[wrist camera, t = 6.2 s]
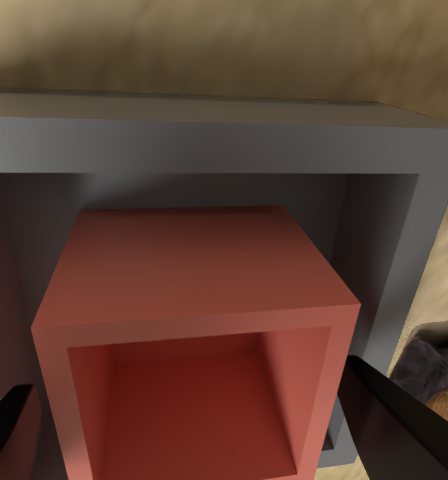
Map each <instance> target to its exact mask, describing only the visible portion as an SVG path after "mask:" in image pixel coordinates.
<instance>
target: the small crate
mask: <svg viewBox="0 0 448 480" xmlns="http://www.w3.org/2000/svg"><path fill="white" fill-rule="evenodd" d="M360 306H361V303H360V302H359V301H358V299H357V298H356V297H355V296H354V294H353V293H352V292H351V291H350V289H349V288H348V287H347V285H346V284H345V283H344V282H343V280H342V279H341V278H340V277H339V275H338V274H337V273H336V272H335V270H334V269H333V268H332V267H331V265H330V264H329V263H328V261H327V260H326V259H325V258H324V256H323V255H322V254H321V253H320V251H319V250H318V249H317V248H316V246H315V245H314V244H313V243H312V241H311V240H310V239H309V237H308V236H307V235H306V234H305V232H304V231H303V230H302V229H301V227H300V226H299V225H298V224H297V222H296V221H295V220H294V219H293V217H292V216H291V215H290V213H289V212H288V211H287V210H286V208H285V207H284V206H283V205H260V206H216V207H172V208H128V209H85V210H80V211H79V213H78V216H77V218H76V221H75V223H74V225H73V228H72V230H71V233H70V235H69V237H68V240H67V242H66V245H65V247H64V249H63V252H62V254H61V256H60V259H59V261H58V264H57V266H56V268H55V271H54V273H53V276H52V278H51V280H50V283H49V285H48V288H47V290H46V292H45V295H44V297H43V300H42V302H41V304H40V307H39V309H38V311H37V314H36V316H35V319H34V321H33V323H32V326H31V332H32V335H33V339H34V343H35V347H36V351H37V355H38V359H39V363H40V367H41V371H42V375H43V379H44V383H45V387H46V391H47V395H48V399H49V403H50V407H51V411H52V415H53V419H54V423H55V427H56V431H57V435H58V439H59V443H60V447H61V451H62V455H63V459H64V463H65V467H66V471H67V475H68V479H69V480H313V479H314V476H315V472H316V468H317V465H318V461H319V457H320V454H321V450H322V446H323V443H324V439H325V435H326V432H327V428H328V424H329V420H330V417H331V413H332V409H333V406H334V402H335V398H336V395H337V391H338V387H339V384H340V380H341V376H342V372H343V369H344V365H345V361H346V358H347V354H348V350H349V347H350V343H351V339H352V336H353V332H354V328H355V325H356V321H357V317H358V313H359V310H360Z"/></svg>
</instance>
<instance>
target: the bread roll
mask: <svg viewBox="0 0 448 480" xmlns="http://www.w3.org/2000/svg"><path fill="white" fill-rule="evenodd" d="M389 379H390V380H392V381H393V382H395V383H396V384H397V385H399V386H400V387H402V388H403V389H404V390H406V391H407V392H408V393H410V394H411V395H413V396H414V397H415V398H417V399H418V400H420V401H421V402H422V403H424V404H425V405H427V406H428V407H429V408H431V409H432V410H433V411H435V412H436V413H438V414H439V415H440V416H442V417H443V418H445V419H446V420H447V421H448V321H444V322H433V323H426V324H421V325H419V326H416V327H415V328H414V329H413V330H412V331H411V333H410V336H409V338H408V340H407V342H406V345H405V346H404V348H403V351H402V353H401V355H400V357H399V359H398V361H397V363H396V365H395V366H394V369H393V371H392V373H391V375H390V377H389Z"/></svg>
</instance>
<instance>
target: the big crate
mask: <svg viewBox="0 0 448 480" xmlns="http://www.w3.org/2000/svg"><path fill="white" fill-rule="evenodd" d="M447 204H448V122H446V121H442V120H439V119H435V118H432V117H428V116H425V115H421V114H417V113H414V112H410V111H407V110H403V109H399V108H396V107H392V106H389V105H385V104H382V103H378V102H352V101H327V100H301V99H276V98H250V97H225V96H199V95H174V94H148V93H123V92H97V91H72V90H46V89H21V88H0V400H1V399H2V398H3V397H4V396H5V394H6V393H7V392H8V391H9V390H10V389H11V388H12V387H14V386H15V385H19V384H30V383H32V384H35V386H36V388H37V392H38V396H39V400H40V404H41V408H42V415H41V422H40V428H39V434H38V439H37V445H36V451H35V456H34V462H33V468H32V473H31V479H30V480H69V479H68V475H67V471H66V467H65V463H64V459H63V455H62V451H61V447H60V443H59V439H58V435H57V431H56V427H55V423H54V419H53V415H52V411H51V407H50V403H49V399H48V395H47V391H46V387H45V383H44V379H43V375H42V371H41V367H40V363H39V359H38V355H37V351H36V347H35V343H34V339H33V335H32V332H31V326H32V323H33V321H34V319H35V316H36V314H37V311H38V309H39V307H40V304H41V302H42V300H43V297H44V295H45V292H46V290H47V288H48V285H49V283H50V280H51V278H52V276H53V273H54V271H55V268H56V266H57V264H58V261H59V259H60V256H61V254H62V252H63V249H64V247H65V245H66V242H67V240H68V237H69V235H70V233H71V230H72V228H73V225H74V223H75V221H76V218H77V216H78V213H79V211H80V210H85V209H128V208H172V207H216V206H260V205H283V206H284V207H285V208H286V210H287V211H288V212H289V213H290V215H291V216H292V217H293V219H294V220H295V221H296V222H297V224H298V225H299V226H300V227H301V229H302V230H303V231H304V232H305V234H306V235H307V236H308V237H309V239H310V240H311V241H312V243H313V244H314V245H315V246H316V248H317V249H318V250H319V251H320V253H321V254H322V255H323V256H324V258H325V259H326V260H327V261H328V263H329V264H330V265H331V267H332V268H333V269H334V270H335V272H336V273H337V274H338V275H339V277H340V278H341V279H342V280H343V282H344V283H345V284H346V285H347V287H348V288H349V289H350V291H351V292H352V293H353V294H354V296H355V297H356V298H357V299H358V301H359V302H360V303H361V306H360V310H359V313H358V317H357V321H356V325H355V328H354V332H353V336H352V339H351V343H350V347H349V350H348V354H347V355H357V356H359V357H360V358H361V359H363V360H364V361H366V362H367V363H368V364H370V365H371V366H372V367H374V368H375V369H377V370H378V371H379V372H381V373H382V374H384V375H385V376H386V374H387V371H388V368H389V365H390V363H391V360H392V357H393V354H394V351H395V349H396V346H397V343H398V340H399V338H400V335H401V332H402V329H403V326H404V324H405V321H406V318H407V315H408V313H409V310H410V307H411V304H412V302H413V299H414V296H415V293H416V290H417V288H418V285H419V282H420V279H421V277H422V274H423V271H424V268H425V265H426V263H427V260H428V257H429V254H430V252H431V249H432V246H433V243H434V240H435V238H436V235H437V232H438V229H439V227H440V224H441V221H442V218H443V216H444V213H445V210H446V207H447ZM357 454H358V452H357V450H356V447H355V445H354V442H353V440H352V437H351V434H350V431H349V428H348V425H347V422H346V419H345V416H344V413H343V410H342V407H341V404H340V401H339V398H338V395H336V398H335V402H334V406H333V409H332V413H331V417H330V420H329V424H328V428H327V432H326V435H325V439H324V443H323V446H322V450H321V454H320V457H319V461H318V465H317V468H323V467H330V466H337V465H344V464H350V463H354V462H355V460H356V457H357Z"/></svg>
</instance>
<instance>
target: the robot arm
mask: <svg viewBox="0 0 448 480" xmlns="http://www.w3.org/2000/svg"><path fill="white" fill-rule="evenodd" d="M337 395H338V398H339V401H340V404H341V407H342V410H343V413H344V416H345V419H346V422H347V425H348V428H349V431H350V434H351V437H352V440H353V442H354V445H355V447H356V450H357V452H358V455H359V457H360V459H361V461H362V463H363V466H364V468H365V470H366V472H367V475H368V477H369V479H370V480H448V421H447V420H446V419H445V418H443V417H442V416H440V415H439V414H438V413H436V412H435V411H433V410H432V409H431V408H429V407H428V406H427V405H425V404H424V403H422V402H421V401H420V400H418V399H417V398H415V397H414V396H413V395H411V394H410V393H408V392H407V391H406V390H404V389H403V388H402V387H400V386H399V385H397V384H396V383H395V382H393V381H392V380H390V379H389V378H388V377H386V376H385V375H384V374H382V373H381V372H379V371H378V370H377V369H375V368H374V367H372V366H371V365H370V364H368V363H367V362H366V361H364V360H363V359H361V358H360V357H359V356H357V355H347V358H346V361H345V365H344V369H343V372H342V376H341V380H340V384H339V387H338V391H337ZM41 415H42V408H41V404H40V400H39V396H38V392H37V388H36V386H35V384H32V383H30V384H19V385H15V386H14V387H12V388H11V389H10V390H9V391H8V392H7V393H6V394H5V396H4V397H3V398H2V399H1V400H0V480H30V479H31V473H32V468H33V462H34V456H35V451H36V445H37V439H38V434H39V428H40V422H41Z"/></svg>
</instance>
